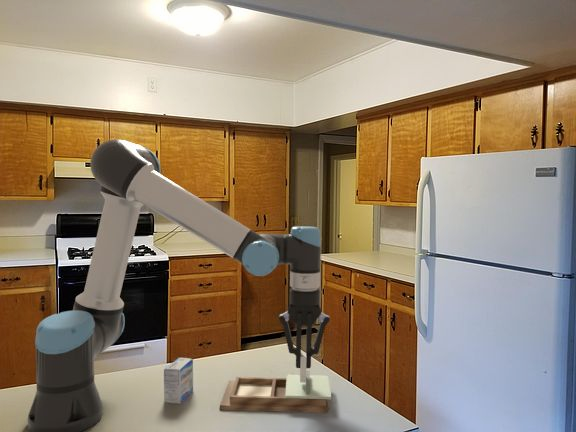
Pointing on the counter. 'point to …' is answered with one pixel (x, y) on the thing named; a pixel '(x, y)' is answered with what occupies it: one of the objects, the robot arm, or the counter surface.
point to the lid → (308, 387)
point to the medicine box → (178, 380)
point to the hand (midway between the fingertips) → (303, 380)
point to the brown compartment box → (266, 397)
